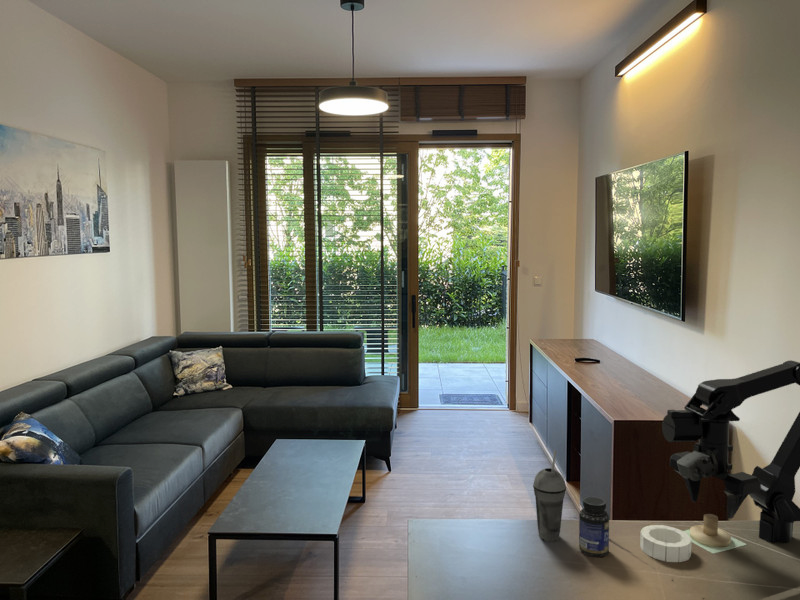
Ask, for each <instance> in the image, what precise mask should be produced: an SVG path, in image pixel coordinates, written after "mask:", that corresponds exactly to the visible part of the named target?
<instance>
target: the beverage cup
mask: <svg viewBox="0 0 800 600" xmlns="http://www.w3.org/2000/svg"><path fill="white" fill-rule="evenodd" d="M556 456H557V450H556V449H554V450H553V457H552V463H551V467H548V468H547V467H546V468H543V469H540V470H539V471H538V472H537V473H536V475H535V477H534V480H533V484H532V487H533V493H534V496H535V497H534V498H535V507H536V508H535V511H536V521H537V531H538V537H539V538H540V539H541V538H542V539H541V540H543V539H544V540H543V541H546V540H548V541H547V542H555V541H554V540H556V541H558V540H559V539H560V534H561V526H562V516H563V505H564V499H565V496H566V490H567V487H566V481H565V479H564V477H563V475H562V474H561V473H560V472H559V470H556V469H555V464H556V458H557V457H556ZM557 539H558V540H557Z"/></svg>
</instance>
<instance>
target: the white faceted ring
mask: <svg viewBox="0 0 800 600" xmlns="http://www.w3.org/2000/svg"><path fill="white" fill-rule="evenodd" d="M683 531H684V530H681V529H678V528H677V527H672V526H669V525H662V524H661V525H660V524H650V525H647V526H644V527H642V529H641V530H640V534H639V535H640V538H639V539H640V540H639V541H640V542H639V543H640V544H639V546H640V549H641V551H642V552H643V553H644V554H645V555H647V556H648V557H651V558H653V559H655V560H659V561H661V562H667V563H681V562H686V561H689V559H690V558H691V556H692V544H693V543H692V539H691V538H690V537H689V535H688V534H687V533H685V532H683Z"/></svg>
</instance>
